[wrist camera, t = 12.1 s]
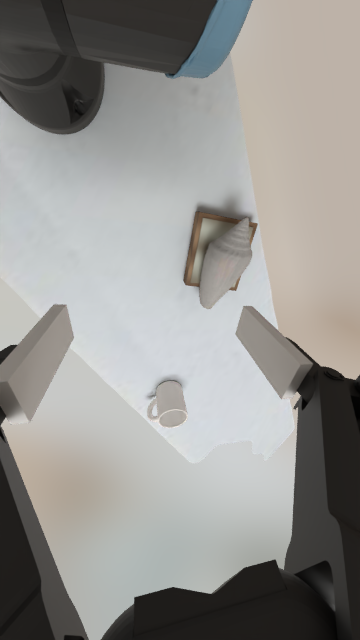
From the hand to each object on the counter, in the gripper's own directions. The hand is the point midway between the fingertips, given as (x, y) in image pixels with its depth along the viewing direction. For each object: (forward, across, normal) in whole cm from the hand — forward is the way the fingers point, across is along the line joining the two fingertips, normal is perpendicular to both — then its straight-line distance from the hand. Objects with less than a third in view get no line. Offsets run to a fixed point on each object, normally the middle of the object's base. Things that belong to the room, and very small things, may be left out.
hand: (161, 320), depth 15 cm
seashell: (+26, +14, -2) cm, 29 cm away
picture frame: (+29, +14, 0) cm, 32 cm away
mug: (+28, +5, -44) cm, 52 cm away
